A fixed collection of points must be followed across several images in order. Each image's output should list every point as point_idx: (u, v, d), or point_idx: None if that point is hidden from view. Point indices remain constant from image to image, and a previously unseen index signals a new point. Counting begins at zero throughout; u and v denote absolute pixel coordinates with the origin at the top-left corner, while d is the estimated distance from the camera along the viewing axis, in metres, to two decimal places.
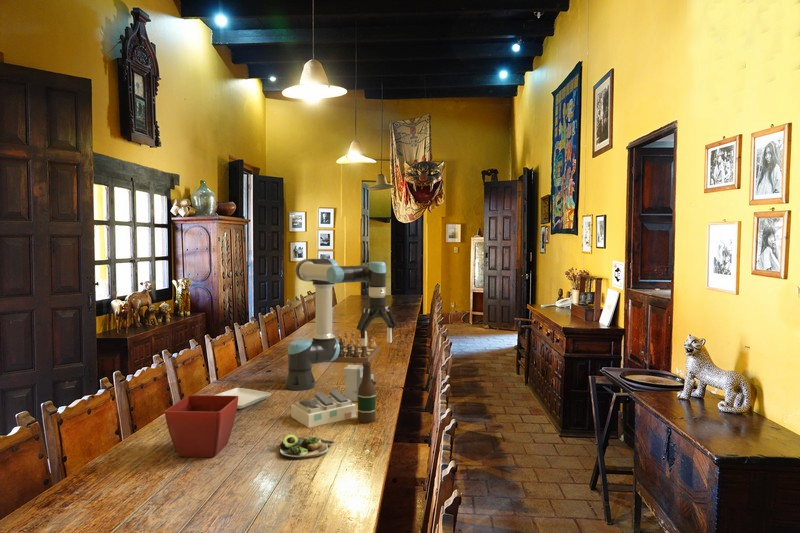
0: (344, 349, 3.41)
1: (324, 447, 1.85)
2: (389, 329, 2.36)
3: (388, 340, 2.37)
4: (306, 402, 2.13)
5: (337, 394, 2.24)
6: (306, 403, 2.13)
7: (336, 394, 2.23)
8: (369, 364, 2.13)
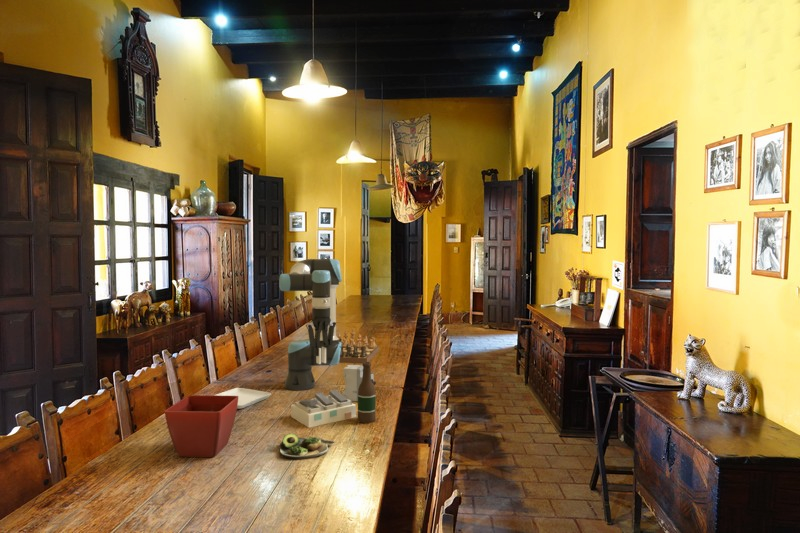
0: (343, 349, 3.41)
1: (324, 447, 1.85)
2: (323, 349, 2.20)
3: (322, 360, 2.20)
4: (306, 402, 2.13)
5: (337, 394, 2.24)
6: (306, 403, 2.13)
7: (336, 394, 2.23)
8: (369, 364, 2.13)
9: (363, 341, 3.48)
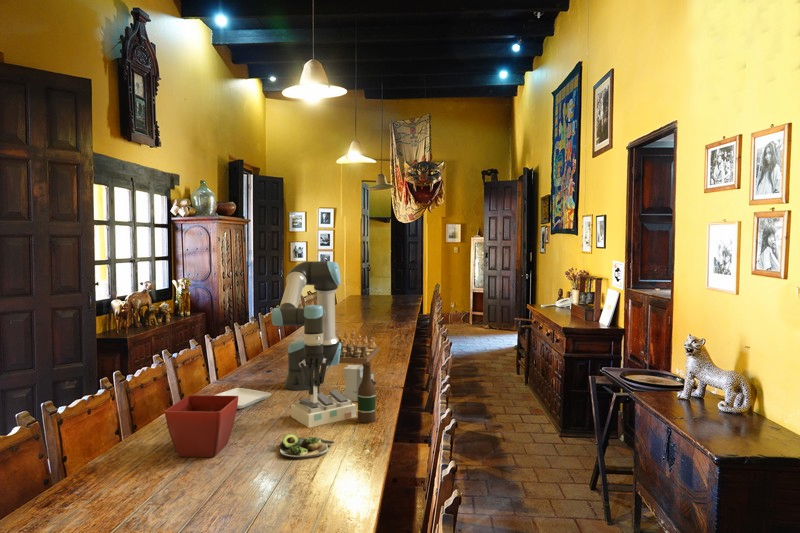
0: (343, 349, 3.40)
1: (324, 447, 1.85)
2: None
3: None
4: (306, 402, 2.13)
5: (337, 394, 2.24)
6: (306, 404, 2.13)
7: (336, 394, 2.23)
8: (369, 364, 2.13)
9: (363, 341, 3.47)
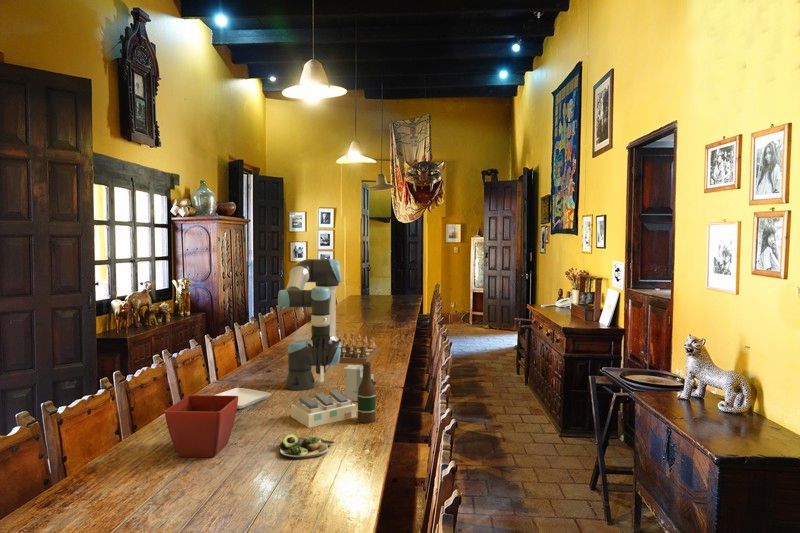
0: (343, 349, 3.40)
1: (324, 447, 1.85)
2: None
3: None
4: (306, 403, 2.12)
5: (337, 394, 2.24)
6: (306, 404, 2.13)
7: (336, 394, 2.23)
8: (369, 364, 2.13)
9: (363, 341, 3.47)
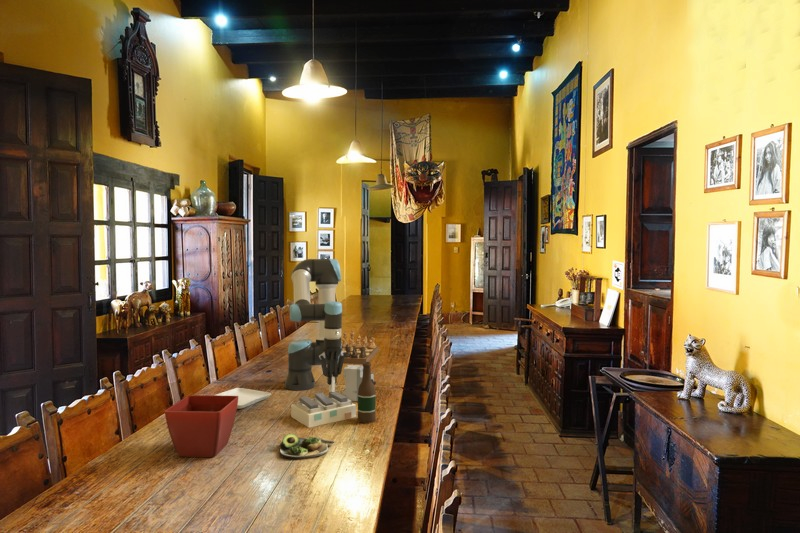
0: (343, 350, 3.39)
1: (324, 447, 1.85)
2: None
3: None
4: (306, 403, 2.12)
5: (337, 394, 2.24)
6: (306, 404, 2.13)
7: (336, 394, 2.23)
8: (369, 364, 2.13)
9: (362, 341, 3.46)
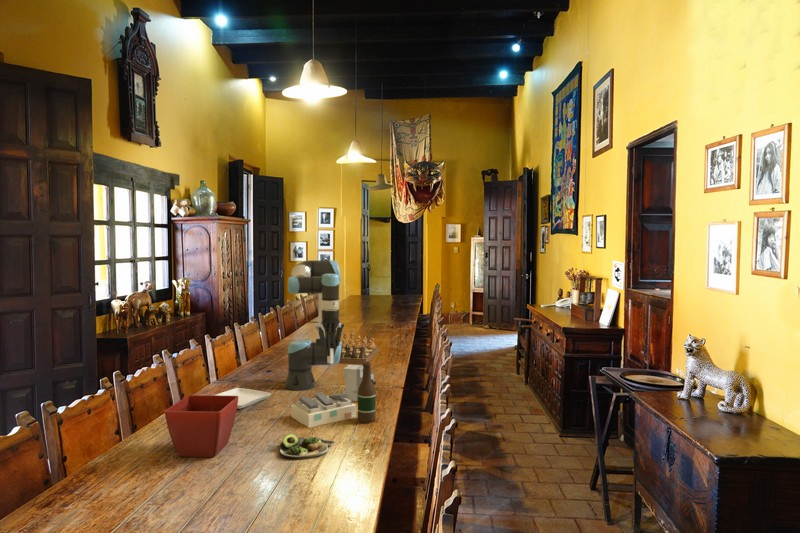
0: (343, 350, 3.39)
1: (324, 447, 1.85)
2: None
3: None
4: (306, 403, 2.12)
5: (337, 394, 2.24)
6: (306, 404, 2.13)
7: (335, 395, 2.24)
8: (369, 364, 2.13)
9: None
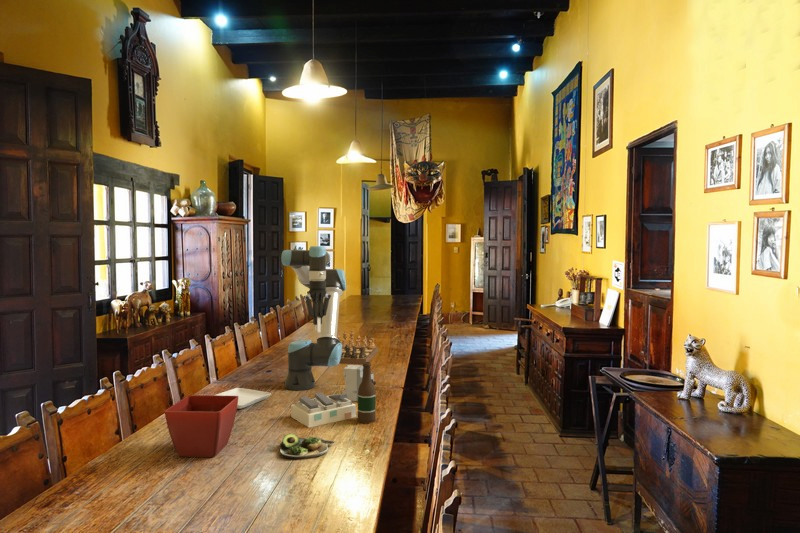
0: (342, 350, 3.38)
1: (324, 447, 1.85)
2: None
3: None
4: (306, 403, 2.12)
5: (337, 394, 2.24)
6: (306, 404, 2.13)
7: (335, 395, 2.24)
8: (369, 364, 2.13)
9: None
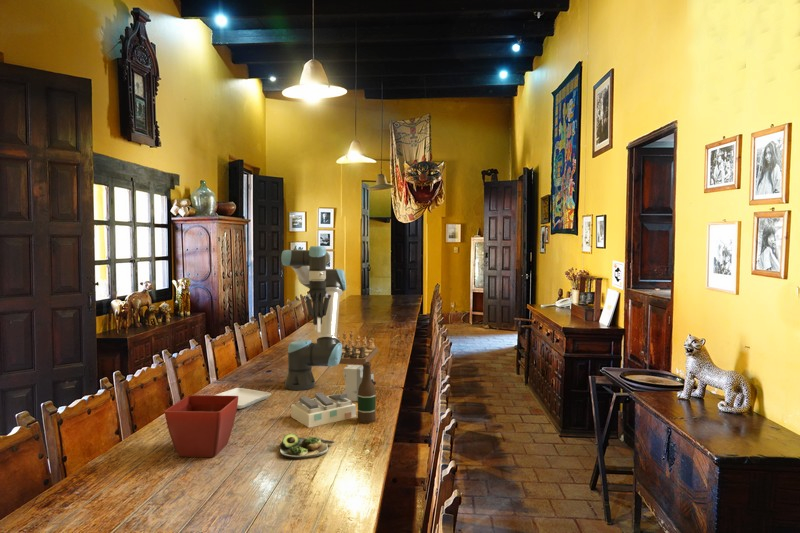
0: (342, 350, 3.38)
1: (324, 447, 1.85)
2: None
3: None
4: (306, 403, 2.12)
5: (337, 394, 2.24)
6: (306, 404, 2.13)
7: (335, 395, 2.24)
8: (369, 364, 2.13)
9: (362, 342, 3.45)
